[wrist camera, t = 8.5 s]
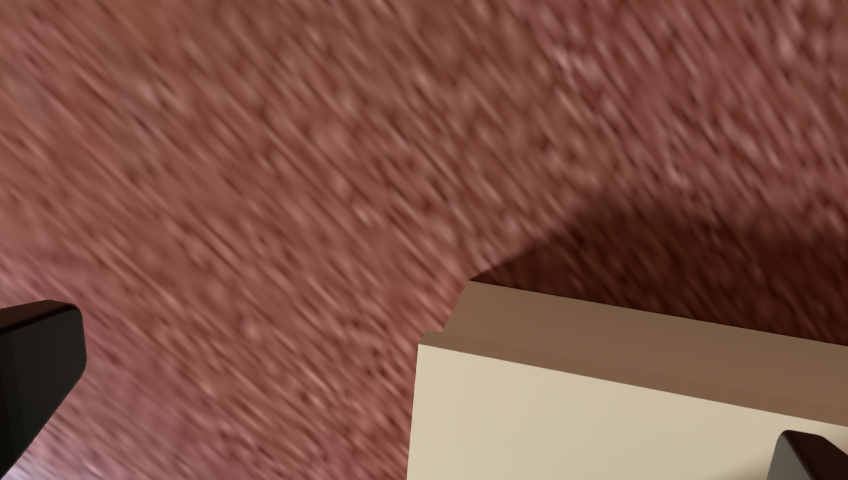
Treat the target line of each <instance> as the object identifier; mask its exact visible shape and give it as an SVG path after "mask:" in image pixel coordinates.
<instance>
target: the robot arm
mask: <svg viewBox="0 0 848 480" xmlns="http://www.w3.org/2000/svg"><path fill="white" fill-rule="evenodd" d="M86 361H87V355H86V346H85V338H84V329H83V320H82V314H81V312H80V310H79V308H78V307H77V306H76V305H74V304H71V303H66V302H60V301H55V300H43V301H38V302H33V303H28V304H23V305H18V306H13V307H7V308H2V309H0V480H1V479H2V478H3V477H4V476H5V474H6V473H7V472H8V471H9V470H10V469H11V468H12V466H13V465H14V464H15V463H16V462H17V460H18V459H19V458H20V457H21V455H22V454H23V453H24V452H25V450H26V449H27V448H28V447H29V445H30V444H31V443H32V441H33V440H34V439H35V437H36V436H37V435H38V433H39V432H40V431H41V429H42V428H43V427H44V425H45V424H46V423H47V421H48V420H49V419H50V417H51V416H52V415H53V413H54V412H55V411H56V410H57V408H58V407H59V406H60V404H61V403H62V402H63V400H64V399H65V398H66V396H67V395H68V394H69V392H70V391H71V390H72V388H73V387H74V386H75V384H76V383H77V382H78V380H79V379H80V378H81V376H82V374H83V372H84V370H85V367H86ZM766 480H848V455H847V454H846V453H845V452H843V451H842V450H841V449H839V448H838V447H837V446H835V445H834V444H833V443H831V442H830V441H829V440H827V439H826V438H825V437H823V436H820V435H817V434H812V433H806V432H800V431H794V430H785V431H783V432H782V433H781V434H780V435H779V437H778V439H777V442H776V446H775V449H774V453H773V457H772V460H771V464H770V468H769V471H768V475H767V478H766Z"/></svg>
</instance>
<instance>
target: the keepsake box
mask: <svg viewBox="0 0 848 480" xmlns="http://www.w3.org/2000/svg"><path fill="white" fill-rule="evenodd" d="M785 430H794V431H800V432H806V433H812V434H817V435H820V436H823V437H825V438H826V439H827V440H829V441H830V442H831V443H833V444H834V445H835V446H837V447H838V448H839V449H841V450H842V451H843V452H845V453H846V454H847V455H848V346H842V345H837V344H831V343H825V342H819V341H814V340H808V339H802V338H796V337H791V336H785V335H779V334H773V333H768V332H762V331H756V330H750V329H745V328H739V327H733V326H727V325H722V324H716V323H710V322H704V321H698V320H693V319H687V318H681V317H675V316H670V315H664V314H658V313H652V312H647V311H641V310H635V309H629V308H624V307H618V306H612V305H606V304H601V303H595V302H589V301H583V300H578V299H572V298H566V297H560V296H555V295H549V294H543V293H537V292H532V291H526V290H520V289H514V288H508V287H503V286H497V285H491V284H485V283H480V282H474V281H468V282H467V284H466V286H465V288H464V290H463V292H462V294H461V296H460V298H459V300H458V302H457V304H456V306H455V308H454V310H453V312H452V314H451V316H450V318H449V320H448V322H447V324H446V326H445V328H444V329H443V331H442V333H441V332H436V331H431V330H426V332H425V333H424V335H423V337H422V339H421V341H420V342H419V346H418V357H417V369H416V380H415V391H414V403H413V414H412V426H411V437H410V449H409V460H408V472H407V480H766V478H767V475H768V471H769V468H770V464H771V460H772V457H773V453H774V449H775V446H776V442H777V439H778V437H779V435H780V434H781V433H782V432H783V431H785Z"/></svg>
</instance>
